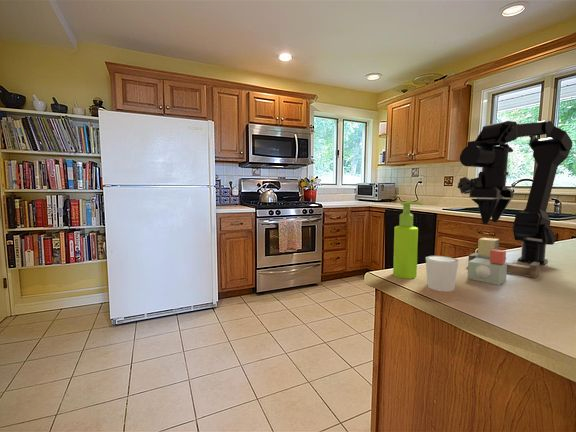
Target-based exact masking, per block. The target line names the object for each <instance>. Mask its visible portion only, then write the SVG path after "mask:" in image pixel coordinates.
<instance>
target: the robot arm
mask: <svg viewBox="0 0 576 432" xmlns="http://www.w3.org/2000/svg"><path fill="white" fill-rule="evenodd" d="M542 135H546V136H547V137H546V138H540V139H538V137H537V136H542ZM523 137H529V138H530V139H529V143H528V147H530V149H531V150H532V151H533V152H532V153H533V154H532V158H533V159H534V161H535V163H536V168H535V171H534V175H533V179H532V181H531V182H532V183H531V186H530V190H529V193H528V194H529V195H528V198H527V202H526V205H525V208H524V209H523V210H522V211H517V212H516V213H515V217H514V221H513V222H512V233H513V237H514V241H520V242H521V255H520V257H519V258H517V261H518V262H525V263H530V264H532V263H533V262H540V265H545V264H547V263H548V261H549V259H546V248H547V247H546V246H547V245H551V246H553V245H554V244H555V242H556V239H557V236H556V235H555V233H554V232H553V229H552V228H551V219H550V217H549V215H548V213H547V209H548V204H549V201H550V197H551V194H552V189H553V185H554V182H555V179H556V174H557V170H558V167H559V166H560V165H561V164H563V163H564V162H565V160H567V158H568V157H569V154H570V151H571V150H572V148H573V141H572V139H571V136H570V135H569V134H568V133H567V131H565V130H564V129H561V128H559V127H557V126H555V125H554V123H553V121H551V120H546V119H545V120H541V121H535V122H526V123H518V122H516V121H513V120H512V121H511V120H506V121H505V120H504V121H500V122H496V123H490V124H485V125H484V126H482V129H481V131H480V132H479V134H478V136H477V137H476V138H475V139H474V140H472V141H471V140H470V141H467V145H466V147H464V148H463V149H462V151H461V153H460V155H459V161H460V163H461V165H463V166H464V167H470V168H471V167H472V168H482V170H481V171H479V172H478V176H477V177H474V178H471V179H470V178H469V177H468V176H464V177H461V178H459V182H457V189H459V190H460V194H461V195H465V194H469V195H468V196H469V198H471V201H473V202H474V203H475V204H476V205H478V210H479V214H480V218H481V221H482V224H483V225H488V224H489V222H490V220H491V221H492V223H497V222H498V221H499V220H500V217H501V216H502V215H503V213H504V212H505V210H506V208H507V206H508V205H509V204H510V202H511V201H512V199H513V198H514V191H513V190H512V189H511V188H508V186H506V184H507V177H508V176H509V171H508V160H509V154H510V153H513V152H514V149H513V148H512V147H510V146H509V144H508V143H510V142H512V141H516V140H517V139H518V138H523Z"/></svg>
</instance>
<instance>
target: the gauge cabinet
mask: <svg viewBox="0 0 576 432" xmlns="http://www.w3.org/2000/svg"><path fill="white" fill-rule="evenodd" d="M507 263H508V262H507V261H505V263H504V264H497V263H491V262H490V260H488V259H482V258H475V259H473V260H471V261H468V262H467V279H469V280H474V281H478V282H483V283H488V284H493V285H497V286H500V285H502V283H504V282H505V281H506V280H507V273H508V272H507Z"/></svg>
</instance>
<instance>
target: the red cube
mask: <svg viewBox="0 0 576 432" xmlns="http://www.w3.org/2000/svg"><path fill="white" fill-rule="evenodd" d="M506 256H507V250H504V249H499V250H497V249H493V250H491V251H490V262H491V263H497V264H504V263H505V262H506Z"/></svg>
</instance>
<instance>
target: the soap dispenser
mask: <svg viewBox="0 0 576 432" xmlns="http://www.w3.org/2000/svg"><path fill="white" fill-rule="evenodd" d="M400 205H402V207H403V208H402V212H401V213H400V214H399V222H398V223H399V224H398V225H396V226H394V228H393V229H394V230H393V231H394V235H393V236H394V237H393V268H392V269H393V270H392V273H393V276H394V277H396V278H400V279H415V278H417V275H418V274H417V273H418V272H417V271H418V243H419V242H418V241H419V227H418V226H417V227H416V226H414V214H413V213H411V205H418V206H423V205H424V203H423V202H420V201H400Z"/></svg>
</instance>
